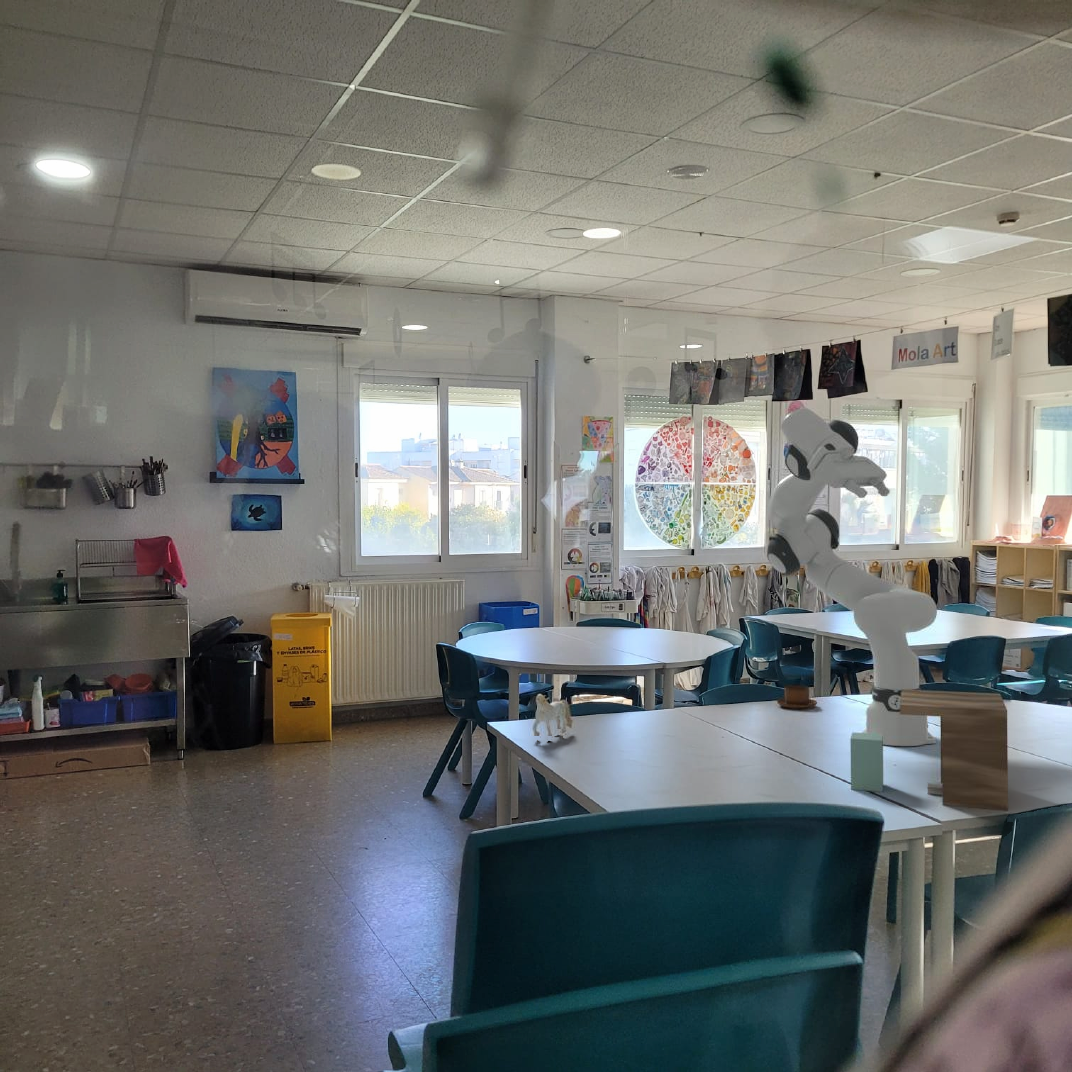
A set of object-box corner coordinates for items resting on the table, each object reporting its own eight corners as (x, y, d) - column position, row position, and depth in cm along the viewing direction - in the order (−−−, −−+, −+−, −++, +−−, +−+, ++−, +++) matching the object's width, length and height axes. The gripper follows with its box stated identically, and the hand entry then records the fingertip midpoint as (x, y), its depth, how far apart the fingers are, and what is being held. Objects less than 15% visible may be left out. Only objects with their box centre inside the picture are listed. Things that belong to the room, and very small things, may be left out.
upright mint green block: (852, 781, 219) (852, 732, 219) (883, 784, 217) (882, 734, 217) (850, 789, 213) (850, 738, 213) (882, 791, 211) (881, 740, 211)
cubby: (902, 778, 221) (901, 689, 221) (1000, 785, 214) (1000, 693, 214) (900, 801, 204) (899, 704, 203) (1007, 810, 196) (1007, 710, 196)
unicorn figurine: (524, 747, 257) (523, 696, 257) (549, 732, 275) (549, 684, 275) (550, 749, 255) (549, 697, 254) (574, 733, 273) (573, 685, 273)
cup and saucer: (780, 702, 314) (780, 683, 314) (819, 705, 309) (819, 685, 309) (774, 709, 303) (773, 689, 303) (814, 712, 298) (814, 691, 298)
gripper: (852, 466, 241) (891, 503, 234) (802, 467, 228) (842, 507, 221) (867, 446, 238) (907, 483, 230) (817, 446, 225) (859, 485, 217)
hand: (875, 494), depth 225 cm, fingers open, 8 cm apart
